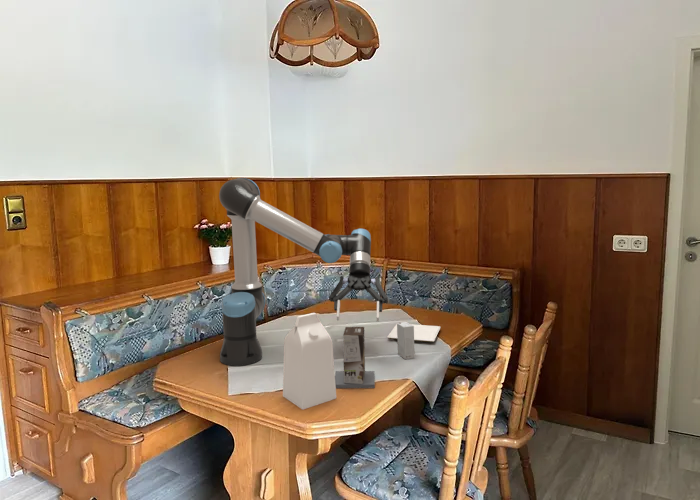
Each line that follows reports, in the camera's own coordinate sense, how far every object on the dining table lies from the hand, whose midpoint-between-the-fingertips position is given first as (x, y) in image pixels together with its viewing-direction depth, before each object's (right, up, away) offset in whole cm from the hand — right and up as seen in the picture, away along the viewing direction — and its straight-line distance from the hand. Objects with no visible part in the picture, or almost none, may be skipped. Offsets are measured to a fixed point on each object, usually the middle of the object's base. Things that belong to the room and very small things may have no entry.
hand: (357, 319), depth 186 cm
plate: (+24, -12, +35) cm, 44 cm away
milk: (-15, -22, -20) cm, 33 cm away
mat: (-1, -19, -9) cm, 21 cm away
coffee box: (-1, -18, -9) cm, 20 cm away
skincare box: (+18, -15, +13) cm, 27 cm away
